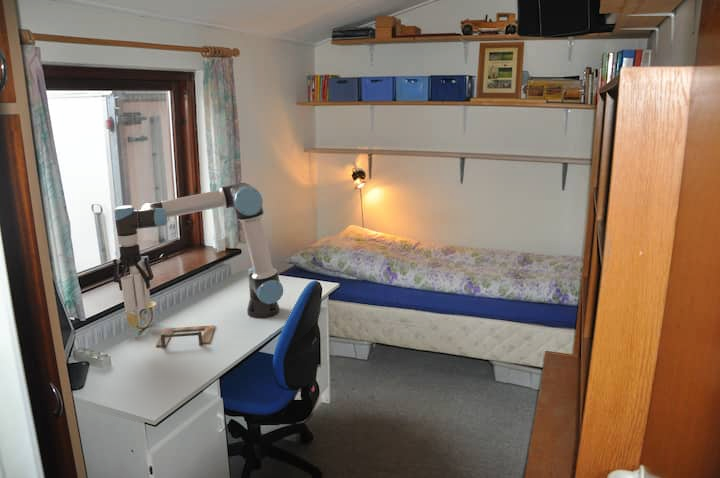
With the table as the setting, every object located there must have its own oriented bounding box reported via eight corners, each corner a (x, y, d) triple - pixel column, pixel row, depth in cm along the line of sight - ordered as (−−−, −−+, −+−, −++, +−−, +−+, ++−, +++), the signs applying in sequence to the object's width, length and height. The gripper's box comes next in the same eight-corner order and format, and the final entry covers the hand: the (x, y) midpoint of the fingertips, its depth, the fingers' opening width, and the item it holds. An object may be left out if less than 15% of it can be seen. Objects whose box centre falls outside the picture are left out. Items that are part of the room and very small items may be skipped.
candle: (141, 300, 242) (135, 256, 237) (155, 302, 240) (149, 257, 234) (122, 310, 232) (116, 264, 227) (136, 312, 229) (130, 266, 224)
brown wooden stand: (215, 326, 256) (214, 314, 254) (209, 345, 237) (207, 332, 236) (165, 330, 254) (163, 317, 252) (155, 348, 235) (153, 335, 233)
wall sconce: (142, 335, 248) (135, 282, 242) (125, 333, 251) (117, 280, 245) (163, 323, 261) (157, 272, 254) (146, 321, 264) (140, 270, 257)
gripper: (157, 240, 233) (164, 291, 239) (105, 243, 231) (113, 295, 237) (153, 245, 226) (160, 298, 232) (99, 248, 224) (107, 301, 230)
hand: (136, 296), depth 235 cm, fingers closed on candle, 8 cm apart
